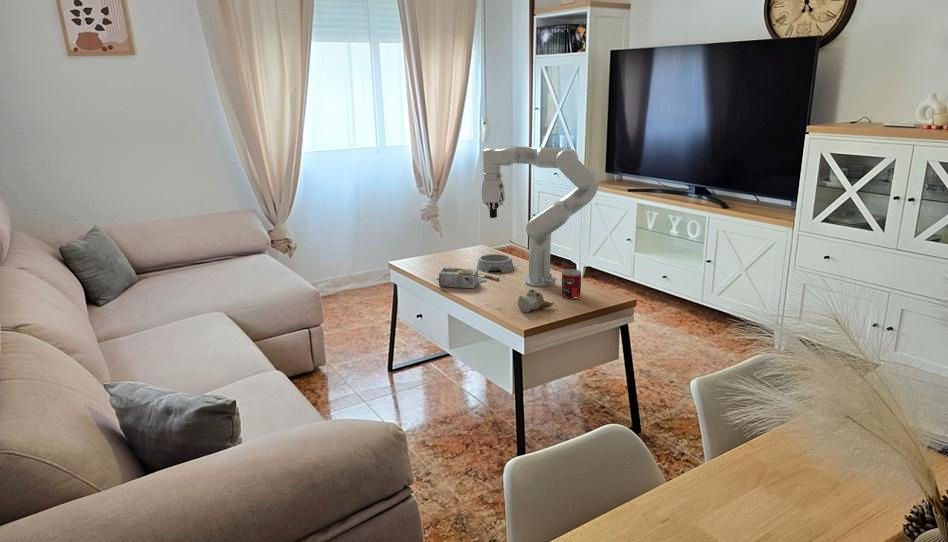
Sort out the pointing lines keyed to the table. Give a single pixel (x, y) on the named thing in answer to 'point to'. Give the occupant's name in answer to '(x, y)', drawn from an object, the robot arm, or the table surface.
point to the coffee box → (458, 277)
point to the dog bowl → (495, 263)
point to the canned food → (571, 283)
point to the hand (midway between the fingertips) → (493, 217)
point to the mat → (478, 280)
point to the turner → (487, 276)
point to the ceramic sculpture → (532, 301)
